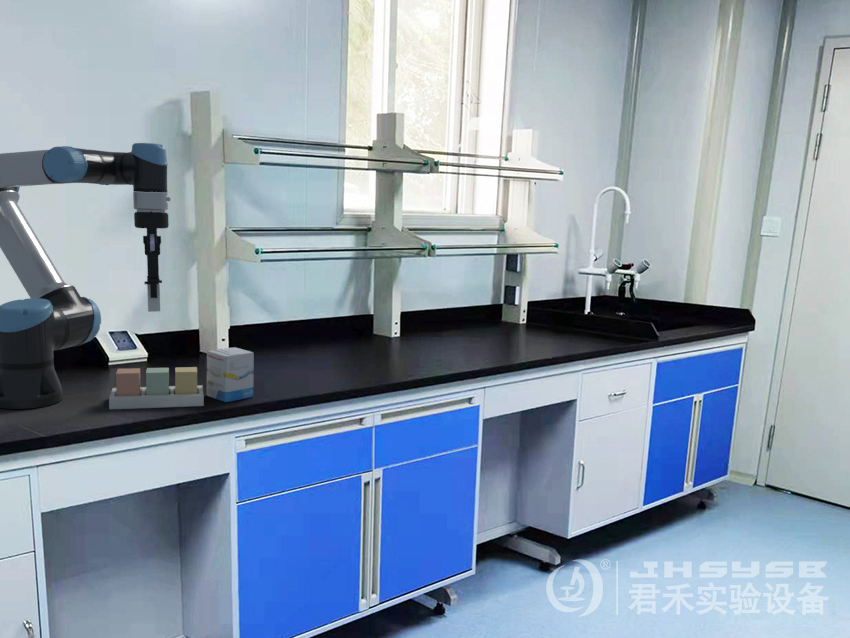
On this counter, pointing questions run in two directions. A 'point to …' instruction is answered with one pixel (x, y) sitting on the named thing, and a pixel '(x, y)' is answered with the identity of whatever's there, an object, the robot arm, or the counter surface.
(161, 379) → the sage button
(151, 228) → the robot arm
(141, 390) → the board
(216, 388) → the ink box
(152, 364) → the counter surface
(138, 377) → the terracotta button
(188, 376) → the ochre button
